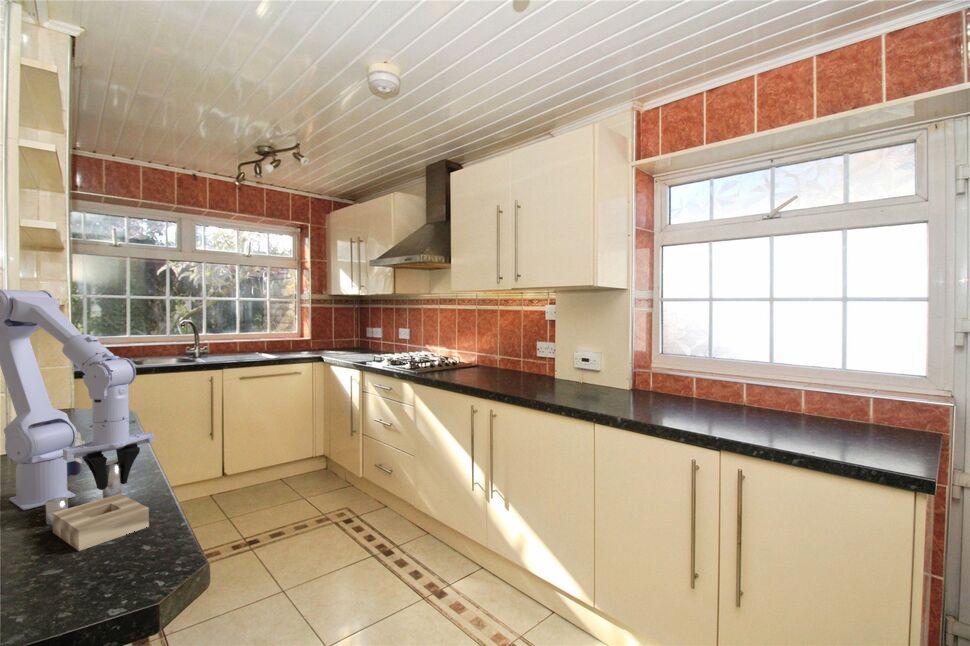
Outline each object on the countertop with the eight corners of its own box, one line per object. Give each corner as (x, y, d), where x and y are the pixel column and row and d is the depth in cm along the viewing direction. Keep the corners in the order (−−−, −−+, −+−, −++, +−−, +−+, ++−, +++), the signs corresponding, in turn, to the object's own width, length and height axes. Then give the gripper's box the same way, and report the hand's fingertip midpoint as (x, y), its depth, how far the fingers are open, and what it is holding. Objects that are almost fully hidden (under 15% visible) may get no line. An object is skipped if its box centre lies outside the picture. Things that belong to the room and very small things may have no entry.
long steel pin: (100, 498, 92) (99, 464, 92) (118, 493, 95) (117, 460, 95) (106, 501, 91) (105, 467, 90) (124, 496, 93) (123, 462, 93)
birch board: (52, 532, 81) (52, 512, 81) (120, 511, 90) (120, 493, 90) (78, 551, 75) (78, 530, 75) (148, 526, 83) (148, 507, 83)
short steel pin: (44, 522, 85) (43, 501, 85) (65, 516, 88) (64, 495, 87) (49, 526, 83) (48, 504, 83) (70, 520, 86) (69, 499, 86)
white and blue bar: (55, 463, 107) (59, 428, 125) (56, 490, 108) (59, 451, 126) (85, 458, 110) (84, 424, 129) (86, 484, 111) (85, 447, 129)
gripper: (72, 429, 84) (73, 502, 84) (161, 414, 96) (161, 478, 97) (58, 424, 88) (59, 494, 88) (145, 410, 100) (146, 472, 100)
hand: (112, 485), depth 93 cm, fingers closed on long steel pin, 3 cm apart
